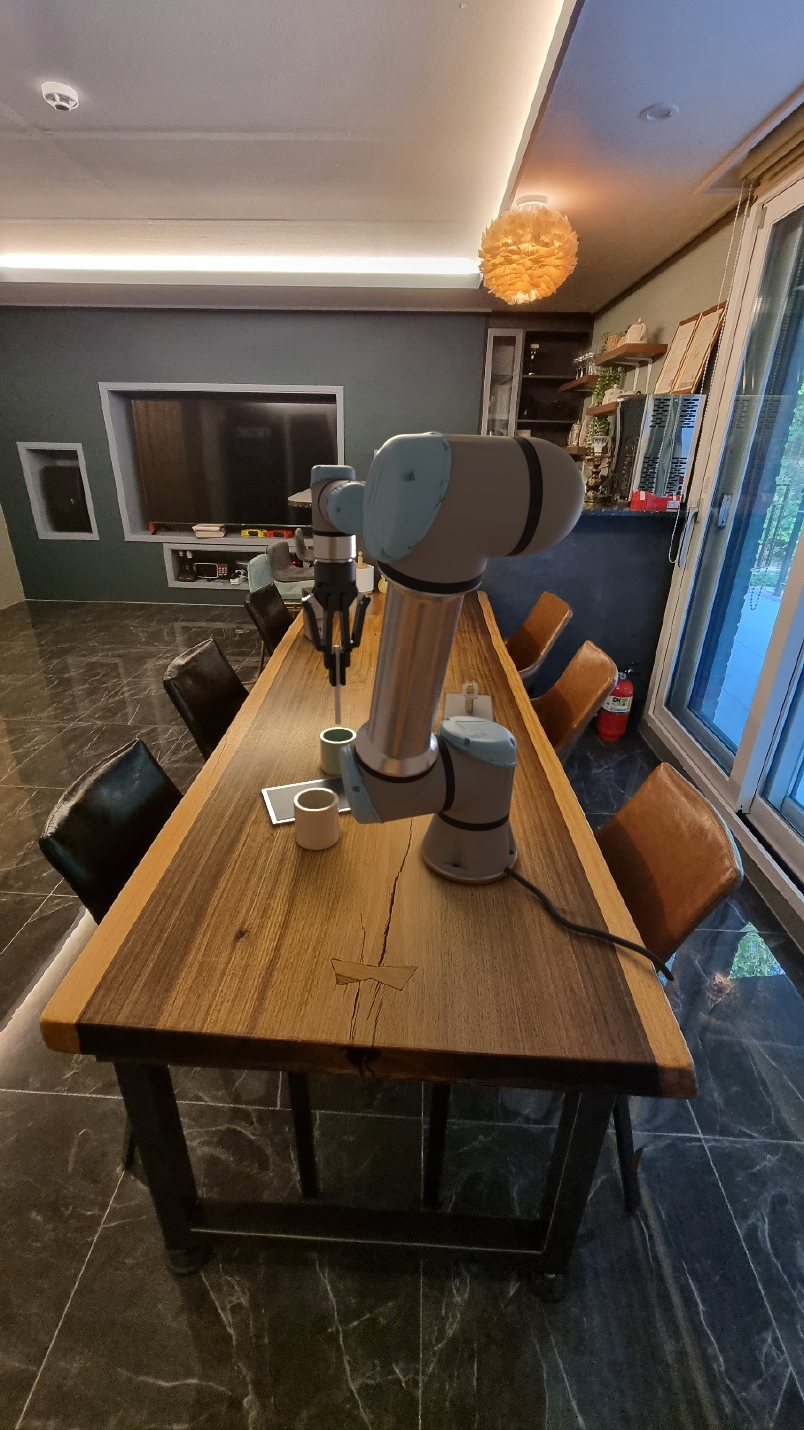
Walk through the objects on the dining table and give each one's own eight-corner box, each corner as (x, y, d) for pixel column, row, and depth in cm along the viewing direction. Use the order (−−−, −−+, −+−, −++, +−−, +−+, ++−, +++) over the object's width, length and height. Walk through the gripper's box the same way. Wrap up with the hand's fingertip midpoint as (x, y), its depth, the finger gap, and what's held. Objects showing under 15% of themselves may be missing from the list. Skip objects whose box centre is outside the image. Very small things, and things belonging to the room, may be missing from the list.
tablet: (367, 810, 111) (367, 805, 111) (273, 828, 106) (273, 823, 105) (348, 779, 122) (348, 774, 121) (261, 793, 116) (261, 789, 115)
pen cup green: (360, 773, 124) (360, 740, 121) (326, 779, 121) (325, 745, 118) (350, 757, 130) (350, 725, 127) (317, 762, 128) (316, 730, 124)
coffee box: (328, 638, 207) (327, 591, 201) (310, 640, 205) (308, 593, 198) (320, 631, 215) (318, 586, 208) (302, 633, 212) (300, 587, 206)
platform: (443, 720, 149) (445, 695, 146) (446, 693, 165) (447, 670, 162) (493, 723, 148) (495, 698, 145) (490, 695, 164) (492, 672, 161)
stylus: (342, 724, 121) (340, 646, 115) (336, 725, 121) (334, 647, 114) (340, 722, 122) (338, 644, 116) (334, 722, 122) (332, 645, 115)
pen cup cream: (343, 844, 102) (343, 806, 99) (301, 853, 99) (299, 814, 96) (332, 821, 108) (331, 784, 105) (291, 829, 105) (289, 791, 102)
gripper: (366, 554, 114) (366, 673, 124) (290, 557, 109) (296, 681, 119) (379, 561, 108) (378, 686, 117) (300, 564, 103) (305, 694, 112)
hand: (337, 683), depth 118 cm, fingers closed on stylus
